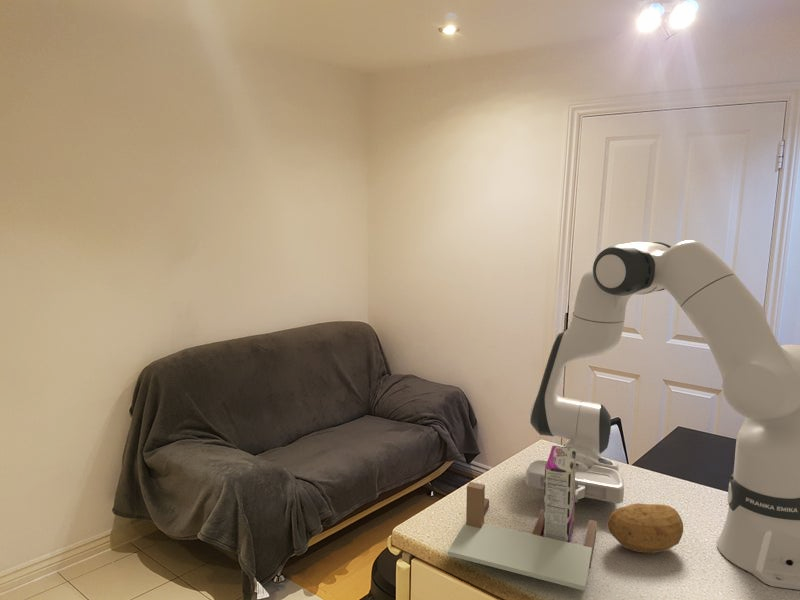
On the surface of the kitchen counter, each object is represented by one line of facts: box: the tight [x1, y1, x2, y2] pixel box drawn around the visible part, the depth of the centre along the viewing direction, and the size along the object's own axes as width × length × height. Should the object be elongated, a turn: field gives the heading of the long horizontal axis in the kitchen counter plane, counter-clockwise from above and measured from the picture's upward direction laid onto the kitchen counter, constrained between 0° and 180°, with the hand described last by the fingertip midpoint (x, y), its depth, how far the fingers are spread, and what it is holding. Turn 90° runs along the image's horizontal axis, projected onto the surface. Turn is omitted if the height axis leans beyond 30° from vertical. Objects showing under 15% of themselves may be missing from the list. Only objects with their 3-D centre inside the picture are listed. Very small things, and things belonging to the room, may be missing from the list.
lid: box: [447, 481, 592, 592], centre depth 98 cm, size 24×12×9 cm, turn 66°
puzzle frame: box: [484, 497, 598, 569], centre depth 108 cm, size 24×13×2 cm, turn 66°
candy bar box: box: [543, 445, 576, 543], centre depth 107 cm, size 11×5×16 cm, turn 157°
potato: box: [606, 502, 684, 553], centre depth 103 cm, size 10×14×8 cm
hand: (569, 497), depth 113 cm, fingers closed
